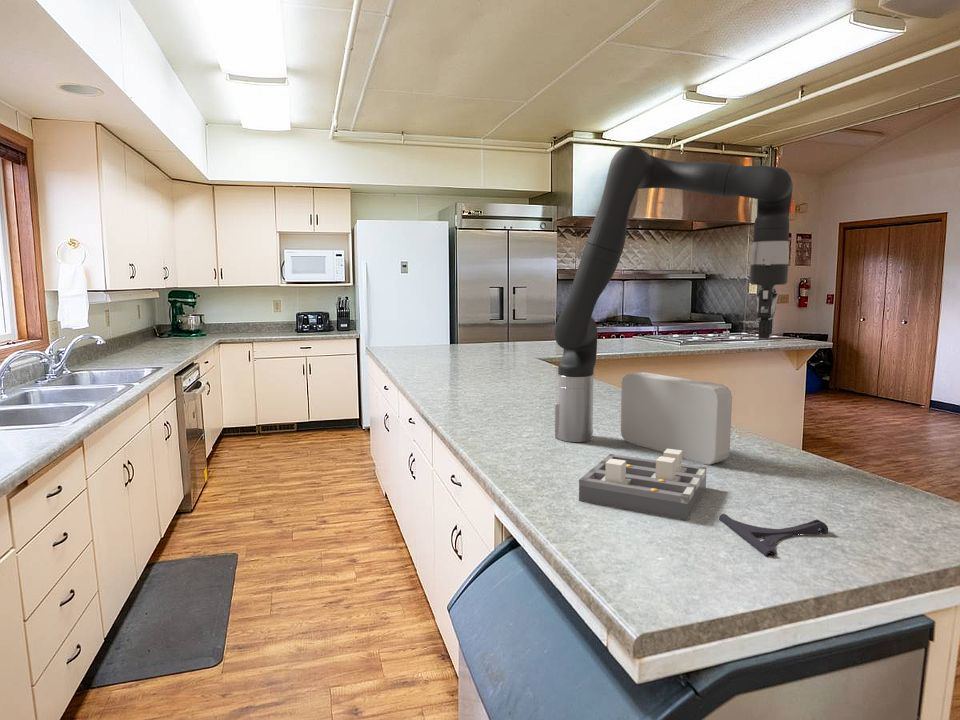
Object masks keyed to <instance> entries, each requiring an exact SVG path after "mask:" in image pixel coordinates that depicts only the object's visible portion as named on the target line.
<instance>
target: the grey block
mask: <svg viewBox="0 0 960 720" xmlns="http://www.w3.org/2000/svg"><path fill="white" fill-rule="evenodd" d="M620 395H621V396H620V397H621V399H620V406H621V407H620V433H621V434H620V435H621V438H622V439H623V440H624V441H625V442H627V443H630V444H633V445H637V446H640V447H644V448H648V449H650V450H653V451H657V452H662V453H663V452H664V451H665V450H666V449H674V450H682V459H685V460H688V461H692V462H696V463H699V464H703V465H713V464H717V463H721V462H724V461H726V460H727V459H728V458H729V455H730V452H731V451H730V447H731V434H732V433H731V429H732V428H731V427H732V409H733V408H732V406H733V396H732V391H731V390H730V388H729V387H728V386H727V385H724V384H722V383H714V382H708V381H704V380H703V381H702V380H695V379H690V378H683V377H676V376H672V375H671V376H670V375H663V374H657V373H651V372H643V371H642V372H641V371H640V372H633V373H628V374H625V375H624V376H623V377H622V381H621V394H620Z"/></svg>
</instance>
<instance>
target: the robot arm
mask: <svg viewBox="0 0 960 720" xmlns="http://www.w3.org/2000/svg"><path fill="white" fill-rule="evenodd" d="M793 186H794V185H793V180H792V178H791V175H790V173H789V172H788V171H787V170H785V169H784V168H782V167H778V166H771V165H770V166H769V165H740V164H735V163H729V162H728V163H726V162H716V161H675V160H669V159H664V158H662V157H661V158H660V157H657V156H654V155H652V154H650V153H648V152H647V151H645V150H644V149H642V148H640V147H638V146H637V145H636V146H635V145H630V144H629V145H625V146H623V147H621V148H620V149H619V150H618V151H616V153H615V154H614V155H613V157H612V159H611V160H610V164H609V167H608V172H607V176H606V181H605V184H604V189H603V191H602V192H603V193H602V196H601V200H600V203H599V206H598V209H597V211H596V215H595V217H594V220H593V223H592V226H591V228H590V231H589V234H588V236H587V239H586V242H585V245H584V248H583V250H582V253H581V257H580V261H579V264H578V265H577V269H576V273H575V276H574V278H573V282H572V286H571V288H570V291H569V294H568V296H567V299H566V301H565V304H564V306H563V308H562V309H561V312H560V314H559V316H558V318H557V321H556V323H555V326H554V333H553V334H554V340H555V341H556V343H557V345H558V346H559V347H560V348H562V349H563V353H562V358H561V360H560V362H559V363H558V366H557V367H558V368H557V371H558V372H557V375H558V376H557V382H558V383H557V402H555V404H554V411H555V412H554V438H555V439H557V440H561V441H564V442H568V443H569V442H570V443H583V442H589V441H591V440H593V432H594V429H593V428H594V425H593V424H594V379H595V378H594V370H595V365H596V362H597V355H598V354H597V352H598V350H597V349H598V328H597V324H596V322H595V320H594V319H593V318H592V316H593V312H594V309H595V307H596V304H597V302H598V300H599V298H600V296H601V294H602V293H603V292H604V290H605V289H606V288H607V286H608V284H609V282H610V281H611V279H612V278H613V276H614V274H615V272H616V270H617V268H618V265H619V262H620V259H621V256H622V253H623V250H624V247H625V242H626V238H627V229H628V219H629V217H628V216H629V212H630V208H631V205H632V203H633V201H634V198H635V195H636V193H637V190H638V189H639V190H640V189H673V190H682V191H686V192H687V191H688V192H693V193H697V194H698V193H700V194H704V195H711V196H718V197H726V198H738V197H741V198H743V197H744V198H748V199H749V198H750V199H755V200H756V203H757V204H756V206H757V207H756V208H757V209H756V218H755V220H754V224H753V235H752V236H753V237H752V248H751V253H750V268H749V269H750V270H749V284H750V285H752V286H753V285H754V286H756V285H758V286H761V287H760V290H759V291H758V293H756V302H757V303H756V305H757V306H756V312H757V315H756V317H757V321H758V335H757V336H758V338H759V339H769V338H770V336H771V335H772V334H773V322H774V321H773V320H774V317H775V313H776V310H777V302H778V297H779V296H778V295H779V294H778V293H777V290H776V288H775V286H777V285H778V286H781V285H784V286H785V285H786V284H787V283H788V278H789V277H788V276H789V258H790V249H789V247H790V246H789V240H790V239H789V238H790V212H791V211H790V210H791V206H792V205H791V204H792V199H793V198H792V197H793Z"/></svg>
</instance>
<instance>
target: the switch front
mask: <svg viewBox="0 0 960 720" xmlns="http://www.w3.org/2000/svg"><path fill="white" fill-rule="evenodd" d="M601 480H602V481H609V482H615V483H621V484H627V485H629V484H630V483H631V479H626V461H625V460H618V459H610V460H608V461H607V462H606V466H605V476H604V477H603V478H602V479H601Z"/></svg>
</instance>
